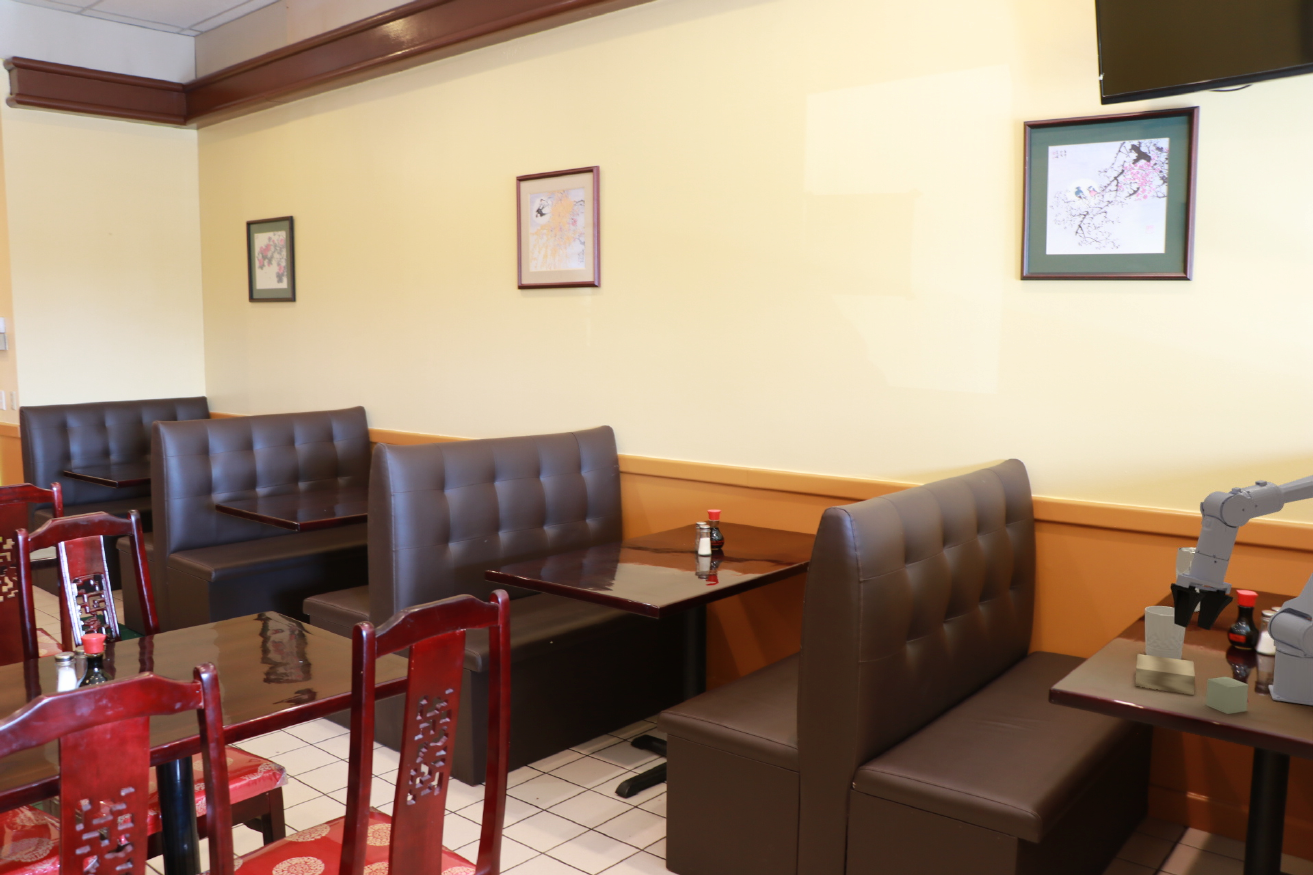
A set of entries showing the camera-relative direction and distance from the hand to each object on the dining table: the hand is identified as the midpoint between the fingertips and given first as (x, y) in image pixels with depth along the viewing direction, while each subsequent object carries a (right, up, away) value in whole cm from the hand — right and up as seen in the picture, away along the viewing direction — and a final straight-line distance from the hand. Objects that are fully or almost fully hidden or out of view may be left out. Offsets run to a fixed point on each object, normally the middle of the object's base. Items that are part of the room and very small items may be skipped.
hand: (1192, 626), depth 183 cm
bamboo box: (+1, -14, +12) cm, 18 cm away
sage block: (+5, -15, -2) cm, 16 cm away
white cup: (+9, -12, +28) cm, 31 cm away
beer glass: (+35, -8, +66) cm, 75 cm away
